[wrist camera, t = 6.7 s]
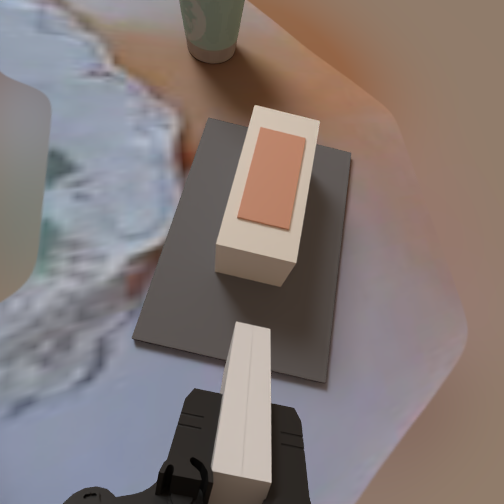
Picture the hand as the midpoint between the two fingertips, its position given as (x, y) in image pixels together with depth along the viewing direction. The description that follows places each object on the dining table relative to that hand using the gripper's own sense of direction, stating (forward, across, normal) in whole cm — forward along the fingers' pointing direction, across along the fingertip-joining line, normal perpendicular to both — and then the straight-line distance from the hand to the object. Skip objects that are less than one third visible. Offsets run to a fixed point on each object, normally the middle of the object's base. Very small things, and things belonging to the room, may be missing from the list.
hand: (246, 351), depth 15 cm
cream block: (+13, 0, -2) cm, 13 cm away
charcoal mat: (+19, 0, -1) cm, 19 cm away
